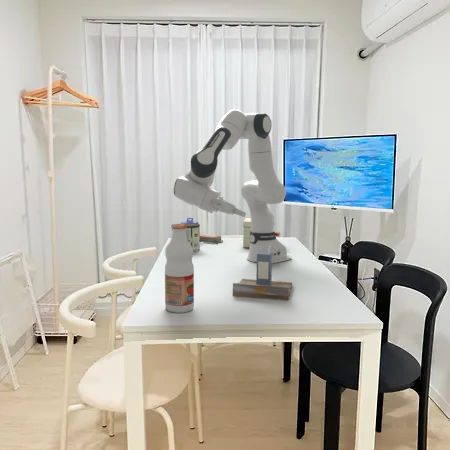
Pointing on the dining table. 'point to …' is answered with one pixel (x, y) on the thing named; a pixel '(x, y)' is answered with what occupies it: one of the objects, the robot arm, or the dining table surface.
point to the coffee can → (193, 235)
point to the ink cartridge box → (189, 221)
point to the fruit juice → (179, 272)
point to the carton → (264, 268)
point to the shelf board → (262, 289)
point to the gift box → (246, 232)
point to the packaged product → (210, 238)
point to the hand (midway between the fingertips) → (245, 215)
